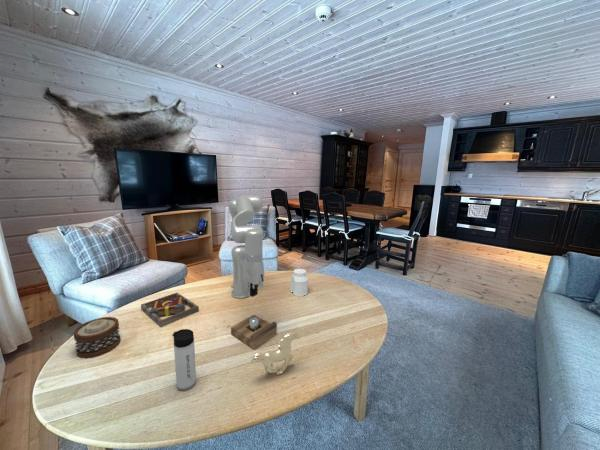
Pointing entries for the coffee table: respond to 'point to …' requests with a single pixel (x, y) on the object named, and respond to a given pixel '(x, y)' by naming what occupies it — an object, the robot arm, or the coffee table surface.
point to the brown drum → (97, 337)
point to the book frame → (171, 319)
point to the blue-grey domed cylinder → (253, 324)
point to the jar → (299, 282)
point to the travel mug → (184, 359)
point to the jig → (256, 337)
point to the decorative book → (168, 306)
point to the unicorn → (277, 354)
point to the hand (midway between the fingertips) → (253, 295)
